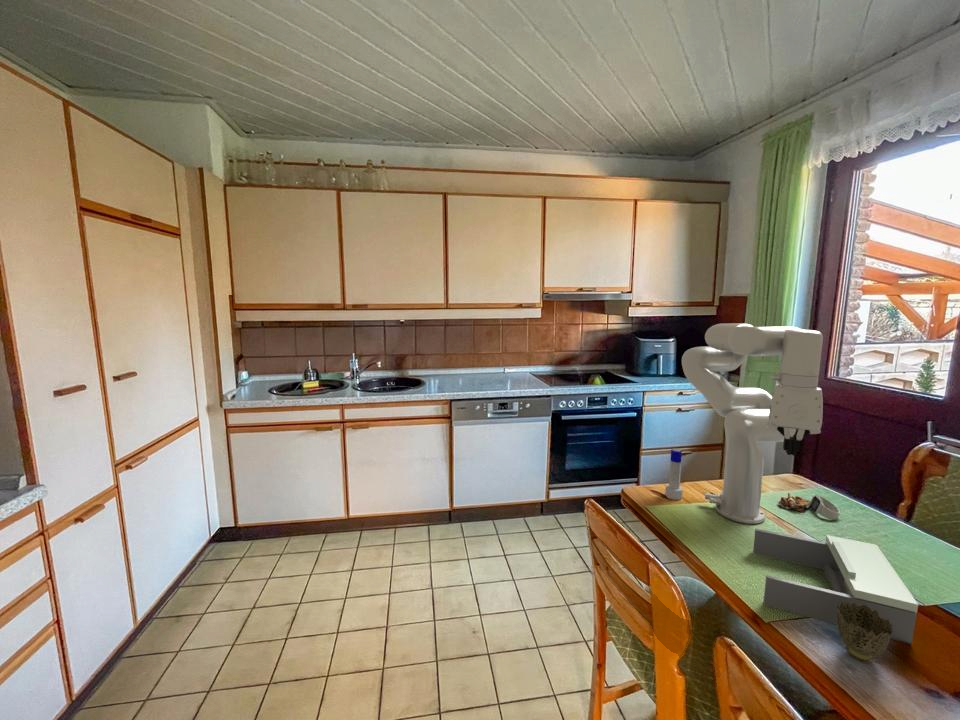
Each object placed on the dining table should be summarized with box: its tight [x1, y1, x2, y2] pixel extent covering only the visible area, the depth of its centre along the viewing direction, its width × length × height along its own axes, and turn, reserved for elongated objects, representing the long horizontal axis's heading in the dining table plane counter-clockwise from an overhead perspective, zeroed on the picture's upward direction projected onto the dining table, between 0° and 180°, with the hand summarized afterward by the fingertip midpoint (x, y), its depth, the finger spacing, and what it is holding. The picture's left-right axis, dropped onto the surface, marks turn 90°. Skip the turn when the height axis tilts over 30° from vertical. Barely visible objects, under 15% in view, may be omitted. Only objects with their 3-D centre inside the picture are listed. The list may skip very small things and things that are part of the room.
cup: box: [837, 602, 894, 663], centre depth 76 cm, size 8×7×8 cm
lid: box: [825, 534, 919, 613], centre depth 89 cm, size 9×21×3 cm, turn 153°
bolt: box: [664, 448, 684, 501], centre depth 136 cm, size 16×5×5 cm
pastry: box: [777, 492, 811, 516], centre depth 132 cm, size 7×12×4 cm, turn 129°
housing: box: [752, 527, 917, 645], centre depth 93 cm, size 23×21×6 cm
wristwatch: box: [809, 494, 841, 521], centre depth 127 cm, size 9×6×5 cm
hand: (790, 453), depth 106 cm, fingers closed
